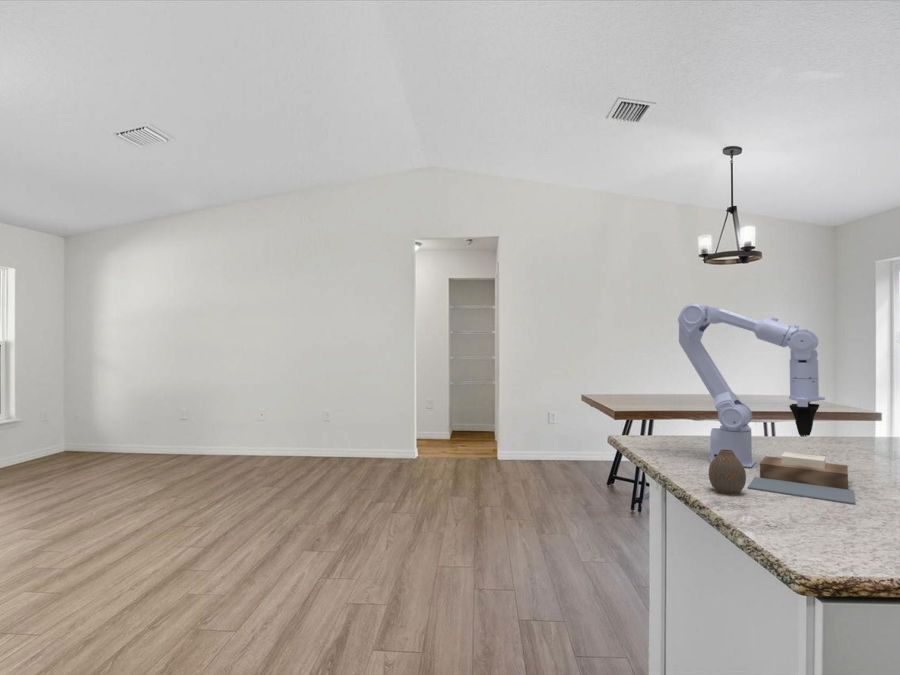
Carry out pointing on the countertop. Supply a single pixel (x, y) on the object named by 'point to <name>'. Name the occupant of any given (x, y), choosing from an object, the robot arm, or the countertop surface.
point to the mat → (803, 490)
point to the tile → (803, 460)
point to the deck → (805, 473)
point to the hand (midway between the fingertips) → (805, 433)
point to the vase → (727, 473)
